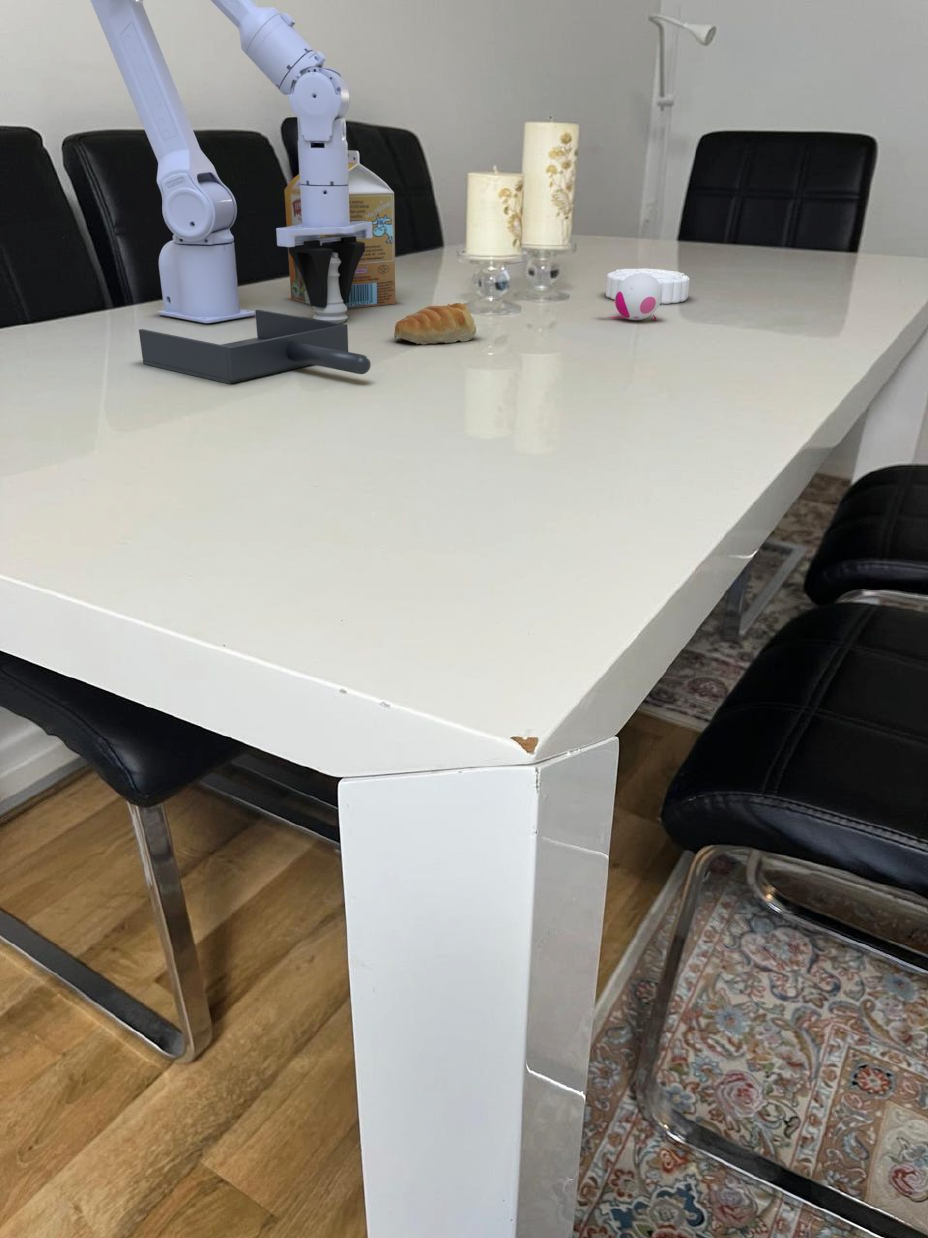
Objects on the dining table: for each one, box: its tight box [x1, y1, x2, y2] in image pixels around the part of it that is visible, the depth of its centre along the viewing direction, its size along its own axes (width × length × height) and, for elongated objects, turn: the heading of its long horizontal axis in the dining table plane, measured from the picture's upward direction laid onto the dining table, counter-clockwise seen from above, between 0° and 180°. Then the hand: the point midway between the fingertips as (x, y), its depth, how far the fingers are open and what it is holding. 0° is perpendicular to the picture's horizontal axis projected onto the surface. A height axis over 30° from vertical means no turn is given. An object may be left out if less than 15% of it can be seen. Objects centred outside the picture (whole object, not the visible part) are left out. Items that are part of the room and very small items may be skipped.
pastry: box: [393, 302, 477, 346], centre depth 110 cm, size 9×7×4 cm
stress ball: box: [608, 273, 662, 322], centre depth 124 cm, size 8×8×7 cm
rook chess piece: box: [312, 252, 349, 324], centre depth 119 cm, size 4×4×8 cm
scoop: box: [138, 309, 372, 385], centre depth 96 cm, size 23×16×3 cm
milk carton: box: [284, 149, 396, 310], centre depth 129 cm, size 11×11×19 cm
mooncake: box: [605, 267, 691, 305], centre depth 141 cm, size 12×12×4 cm
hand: (329, 304), depth 120 cm, fingers closed on rook chess piece, 3 cm apart
